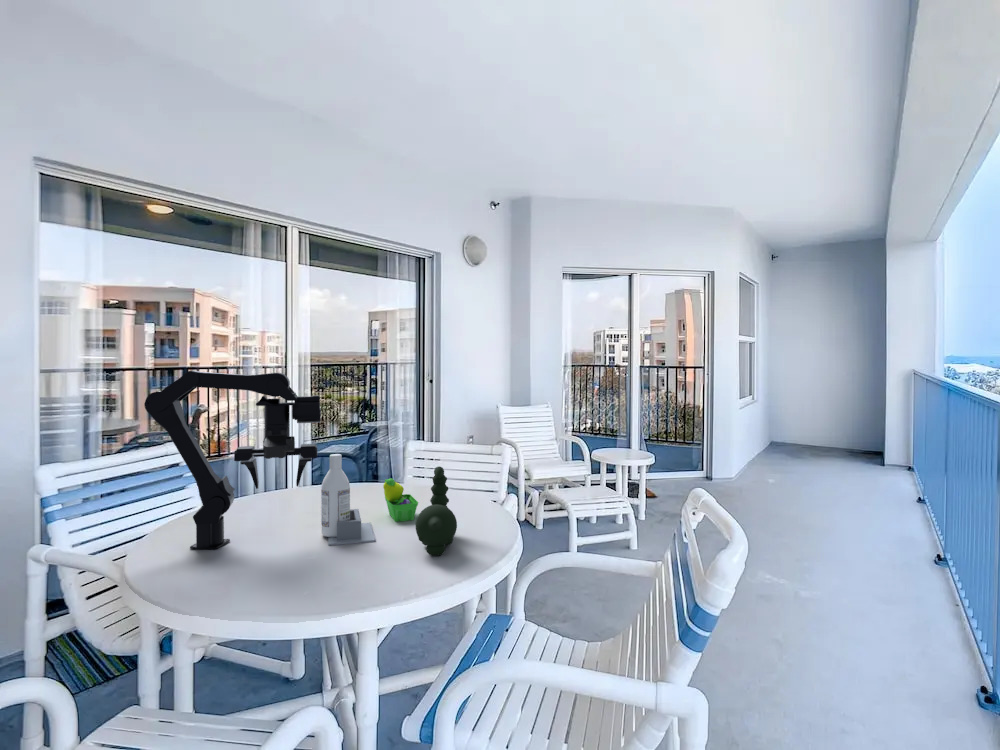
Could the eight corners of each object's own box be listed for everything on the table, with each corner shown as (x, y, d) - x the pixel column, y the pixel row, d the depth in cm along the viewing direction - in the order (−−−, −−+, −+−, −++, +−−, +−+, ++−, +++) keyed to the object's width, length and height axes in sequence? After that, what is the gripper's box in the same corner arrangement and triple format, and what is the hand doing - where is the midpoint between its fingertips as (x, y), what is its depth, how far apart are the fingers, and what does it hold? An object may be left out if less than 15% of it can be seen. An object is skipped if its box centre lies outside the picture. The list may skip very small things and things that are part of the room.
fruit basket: (419, 520, 159) (419, 480, 159) (387, 524, 156) (387, 482, 156) (410, 511, 170) (410, 472, 170) (379, 513, 167) (379, 475, 166)
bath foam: (352, 529, 149) (351, 452, 149) (347, 537, 142) (347, 456, 142) (324, 530, 149) (324, 452, 148) (318, 538, 142) (318, 457, 141)
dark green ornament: (421, 538, 148) (412, 563, 123) (421, 464, 150) (413, 474, 125) (457, 538, 149) (456, 562, 124) (458, 464, 150) (456, 474, 125)
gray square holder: (328, 545, 137) (328, 525, 137) (328, 527, 153) (328, 509, 153) (375, 541, 140) (375, 521, 140) (370, 524, 156) (370, 506, 156)
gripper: (230, 428, 130) (230, 497, 131) (316, 426, 136) (317, 491, 136) (237, 423, 141) (237, 487, 141) (317, 421, 147) (317, 482, 147)
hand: (277, 487), depth 141 cm, fingers open, 9 cm apart
